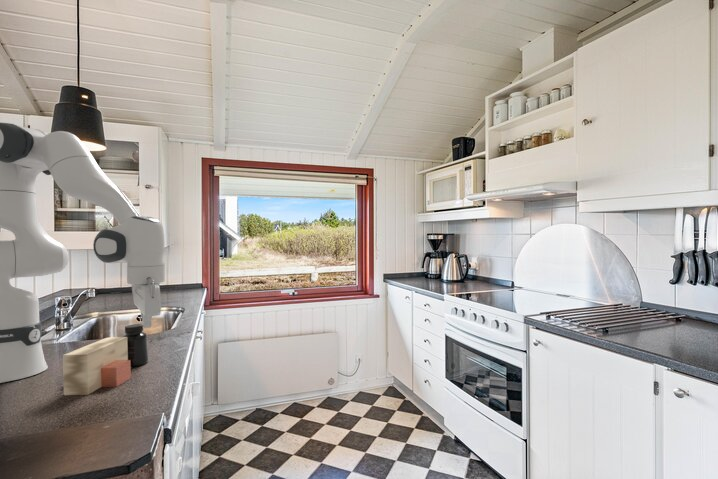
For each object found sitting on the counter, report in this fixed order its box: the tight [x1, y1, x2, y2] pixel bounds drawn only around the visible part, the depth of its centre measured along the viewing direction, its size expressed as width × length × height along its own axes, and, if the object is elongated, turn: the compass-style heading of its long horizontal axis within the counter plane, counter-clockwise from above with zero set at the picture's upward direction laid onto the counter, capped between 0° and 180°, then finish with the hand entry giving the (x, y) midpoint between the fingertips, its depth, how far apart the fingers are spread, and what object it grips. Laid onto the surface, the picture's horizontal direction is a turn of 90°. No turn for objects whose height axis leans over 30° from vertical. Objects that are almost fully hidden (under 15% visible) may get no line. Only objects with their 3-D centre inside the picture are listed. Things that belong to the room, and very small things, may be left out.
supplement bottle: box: [122, 323, 149, 368], centre depth 112 cm, size 7×7×12 cm
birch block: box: [62, 336, 128, 396], centre depth 98 cm, size 6×16×10 cm, turn 1°
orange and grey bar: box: [100, 360, 132, 388], centre depth 98 cm, size 14×6×5 cm, turn 91°
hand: (146, 326), depth 99 cm, fingers closed
